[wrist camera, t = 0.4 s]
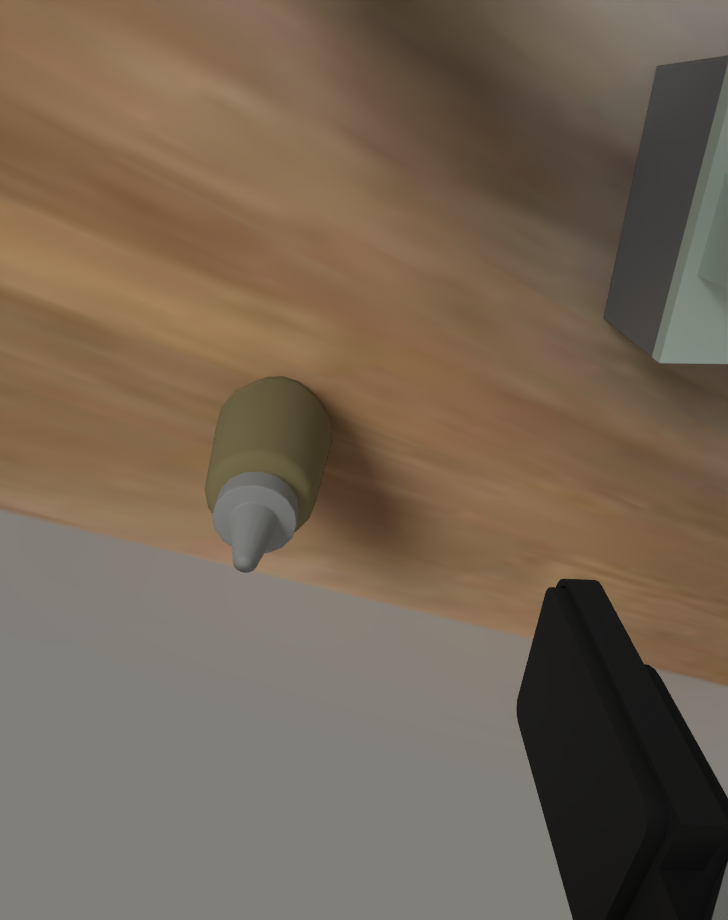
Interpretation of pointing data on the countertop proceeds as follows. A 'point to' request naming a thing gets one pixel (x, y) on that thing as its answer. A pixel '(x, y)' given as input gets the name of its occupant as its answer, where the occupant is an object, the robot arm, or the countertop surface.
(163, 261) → the countertop surface
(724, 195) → the lid
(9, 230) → the countertop surface
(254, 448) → the squeeze bottle
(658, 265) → the tub
